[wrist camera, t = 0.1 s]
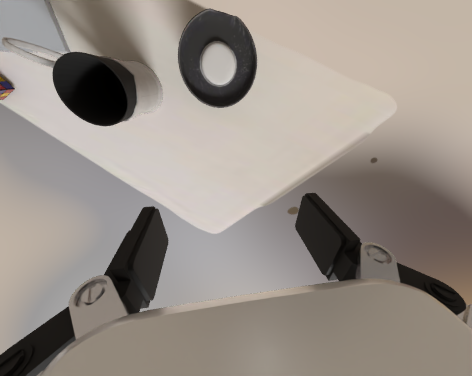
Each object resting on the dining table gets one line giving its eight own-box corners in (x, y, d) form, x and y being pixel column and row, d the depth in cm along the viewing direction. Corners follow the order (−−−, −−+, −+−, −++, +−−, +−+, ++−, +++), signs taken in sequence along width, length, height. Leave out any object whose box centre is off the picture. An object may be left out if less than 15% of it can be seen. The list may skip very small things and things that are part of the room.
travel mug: (211, 104, 35) (213, 124, 18) (185, 68, 31) (157, 50, 14) (241, 80, 33) (272, 76, 17) (217, 38, 30) (227, -22, 13)
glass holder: (155, 121, 35) (124, 143, 23) (74, 81, 30) (-23, 79, 18) (169, 79, 32) (142, 77, 19) (80, 25, 27) (-36, -27, 14)
